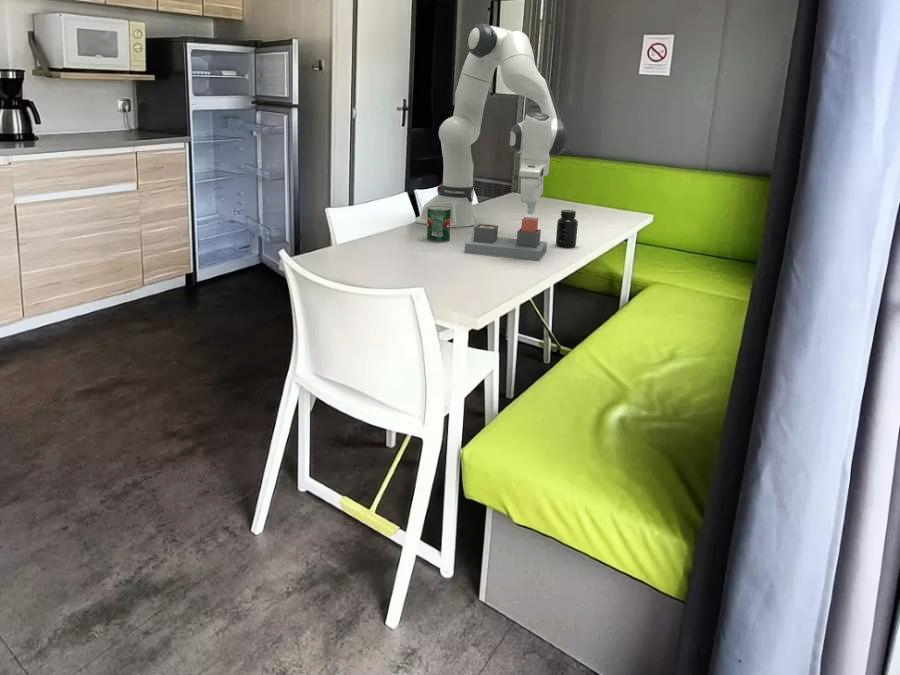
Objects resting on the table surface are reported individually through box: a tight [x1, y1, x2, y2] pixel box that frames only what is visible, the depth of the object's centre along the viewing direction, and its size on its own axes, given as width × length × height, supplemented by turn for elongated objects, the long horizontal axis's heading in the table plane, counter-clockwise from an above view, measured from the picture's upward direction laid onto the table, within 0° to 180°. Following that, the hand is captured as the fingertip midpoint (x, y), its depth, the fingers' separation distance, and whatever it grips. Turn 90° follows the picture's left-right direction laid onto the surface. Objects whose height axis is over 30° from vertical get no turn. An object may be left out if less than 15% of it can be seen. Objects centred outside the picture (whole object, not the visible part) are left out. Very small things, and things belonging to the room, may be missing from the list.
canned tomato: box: [426, 206, 451, 243], centre depth 241 cm, size 8×8×11 cm
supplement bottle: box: [555, 209, 579, 249], centre depth 240 cm, size 7×7×12 cm
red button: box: [520, 217, 539, 233], centre depth 226 cm, size 4×4×4 cm
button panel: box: [464, 223, 548, 261], centre depth 230 cm, size 24×14×8 cm, turn 74°
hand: (530, 213), depth 225 cm, fingers closed
